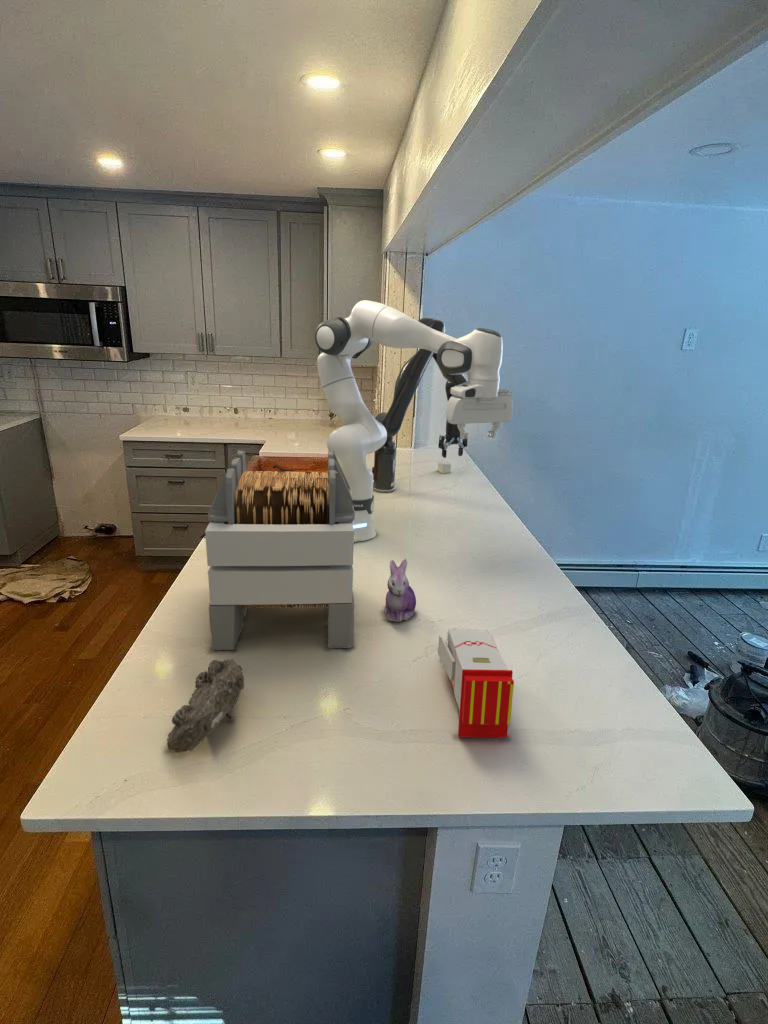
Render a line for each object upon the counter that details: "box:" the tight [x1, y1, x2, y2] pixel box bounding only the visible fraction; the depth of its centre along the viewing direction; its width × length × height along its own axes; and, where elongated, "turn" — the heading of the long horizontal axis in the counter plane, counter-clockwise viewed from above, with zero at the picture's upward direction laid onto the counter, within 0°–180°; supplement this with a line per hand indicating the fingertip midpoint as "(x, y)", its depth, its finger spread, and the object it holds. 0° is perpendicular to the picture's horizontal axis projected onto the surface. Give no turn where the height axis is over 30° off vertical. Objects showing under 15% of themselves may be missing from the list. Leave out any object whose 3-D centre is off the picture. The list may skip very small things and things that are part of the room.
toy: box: [437, 628, 515, 738], centre depth 117 cm, size 12×13×30 cm
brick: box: [437, 461, 452, 474], centre depth 279 cm, size 5×5×4 cm
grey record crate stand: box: [204, 449, 355, 652], centre depth 138 cm, size 34×33×41 cm
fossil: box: [166, 658, 245, 754], centre depth 106 cm, size 22×10×15 cm
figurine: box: [384, 558, 417, 623], centre depth 145 cm, size 9×10×15 cm
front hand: (477, 438), depth 164 cm, fingers open, 8 cm apart
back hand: (452, 456), depth 265 cm, fingers open, 8 cm apart
